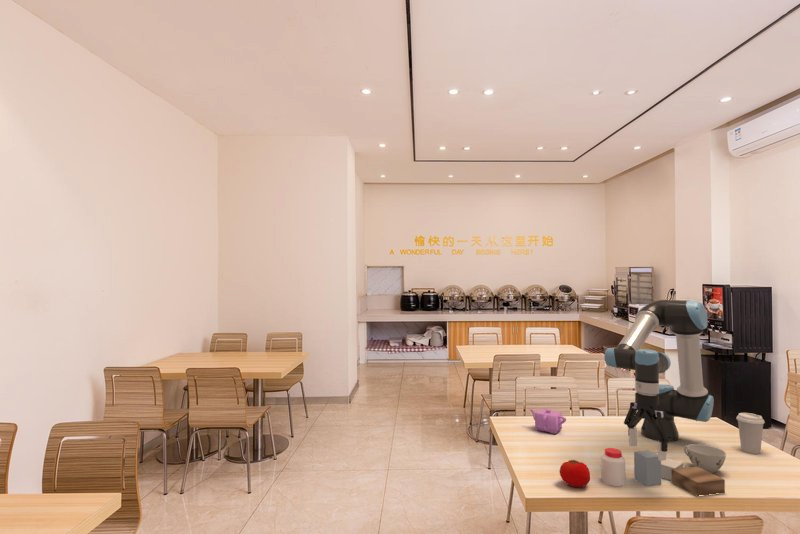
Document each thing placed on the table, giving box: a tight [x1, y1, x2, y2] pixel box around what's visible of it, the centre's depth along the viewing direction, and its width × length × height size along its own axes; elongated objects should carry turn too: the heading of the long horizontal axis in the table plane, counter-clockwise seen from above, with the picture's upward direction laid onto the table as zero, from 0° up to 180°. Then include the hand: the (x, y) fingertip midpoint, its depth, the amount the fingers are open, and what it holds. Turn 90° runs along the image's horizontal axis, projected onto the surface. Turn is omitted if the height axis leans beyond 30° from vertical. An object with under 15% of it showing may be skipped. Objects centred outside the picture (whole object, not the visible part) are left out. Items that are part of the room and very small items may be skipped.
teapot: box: [528, 408, 567, 435], centre depth 219 cm, size 18×14×10 cm
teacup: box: [683, 443, 727, 474], centre depth 175 cm, size 15×12×8 cm
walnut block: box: [671, 466, 726, 497], centre depth 159 cm, size 11×11×5 cm
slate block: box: [633, 449, 662, 488], centre depth 164 cm, size 6×6×10 cm
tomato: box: [559, 459, 591, 488], centre depth 161 cm, size 9×10×8 cm
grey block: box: [661, 457, 684, 482], centre depth 170 cm, size 8×8×5 cm
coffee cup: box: [736, 412, 766, 455], centre depth 193 cm, size 10×10×15 cm
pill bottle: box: [601, 447, 626, 487], centre depth 164 cm, size 8×8×11 cm
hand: (647, 452), depth 164 cm, fingers open, 13 cm apart
